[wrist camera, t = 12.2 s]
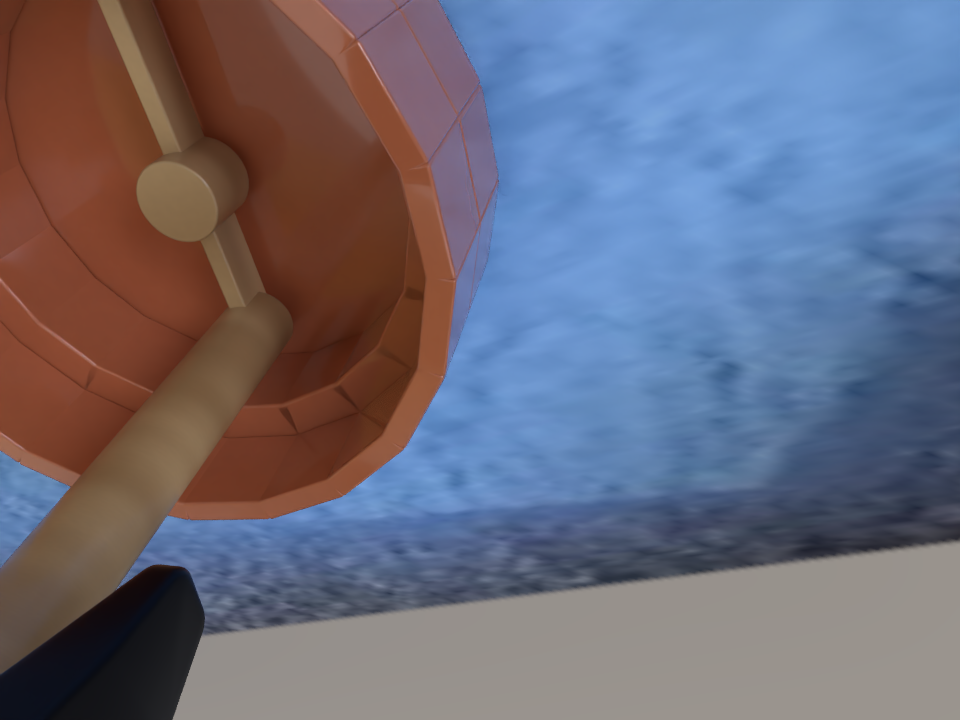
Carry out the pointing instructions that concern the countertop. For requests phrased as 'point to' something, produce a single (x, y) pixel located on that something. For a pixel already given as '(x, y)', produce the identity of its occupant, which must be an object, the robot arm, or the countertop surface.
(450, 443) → the countertop surface
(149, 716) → the robot arm
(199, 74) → the bowl
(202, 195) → the stirrer
